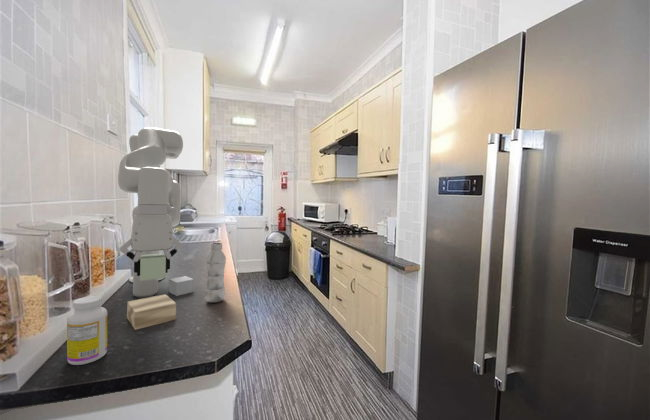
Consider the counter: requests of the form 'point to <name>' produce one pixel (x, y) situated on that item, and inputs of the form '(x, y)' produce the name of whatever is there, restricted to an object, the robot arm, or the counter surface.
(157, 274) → the sage-green block
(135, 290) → the can
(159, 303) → the beech block
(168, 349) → the counter surface
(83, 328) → the supplement bottle
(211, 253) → the plastic bottle
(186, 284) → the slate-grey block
